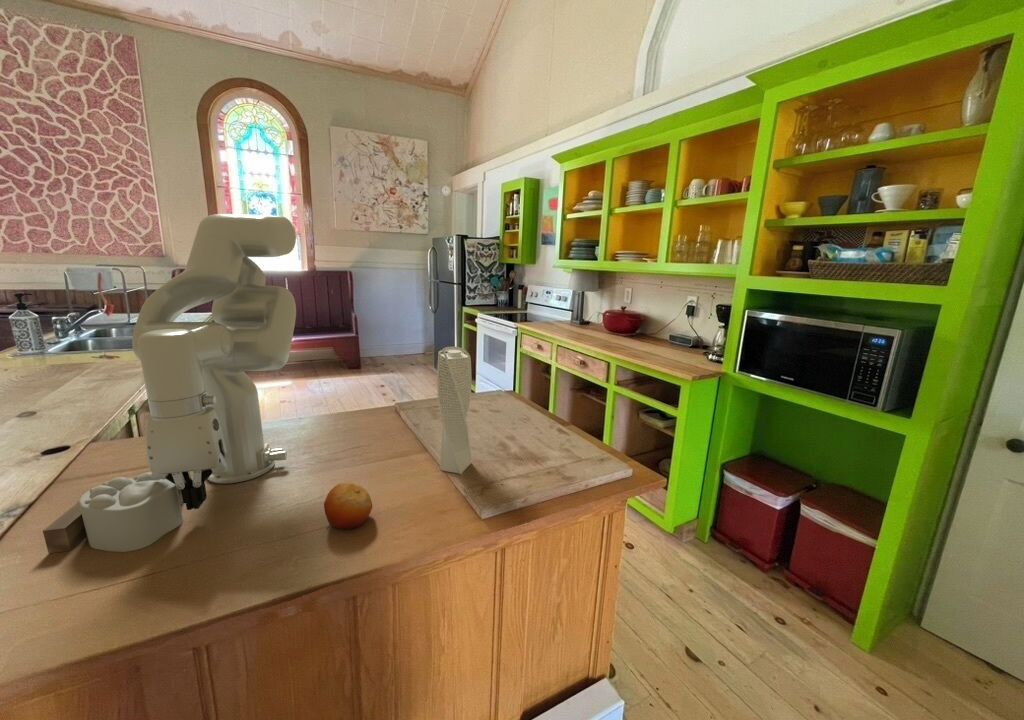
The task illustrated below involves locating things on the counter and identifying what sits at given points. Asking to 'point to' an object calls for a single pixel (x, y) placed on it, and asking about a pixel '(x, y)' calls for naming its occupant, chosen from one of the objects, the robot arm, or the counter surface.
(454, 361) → the skyscraper
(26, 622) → the counter surface
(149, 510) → the lumpy-topped squat cylinder
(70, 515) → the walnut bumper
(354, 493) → the fruit
